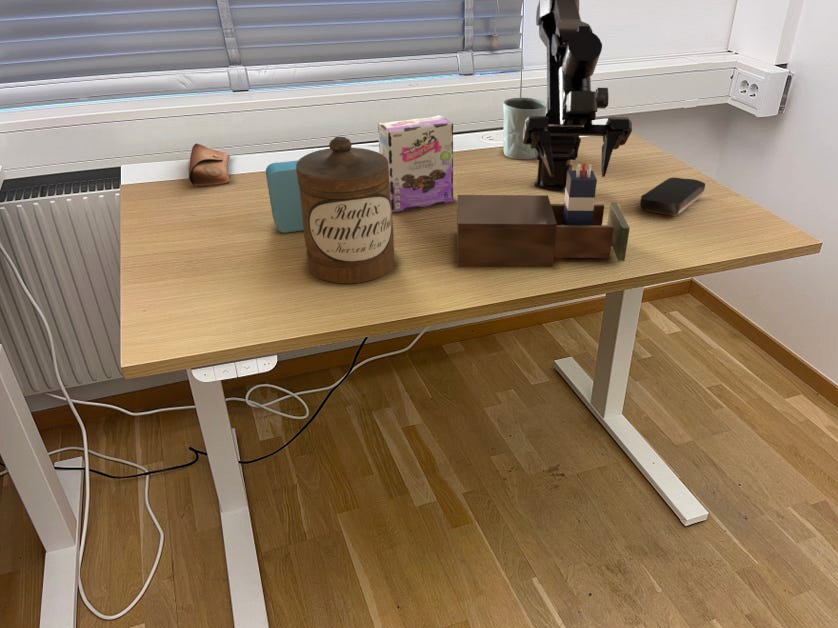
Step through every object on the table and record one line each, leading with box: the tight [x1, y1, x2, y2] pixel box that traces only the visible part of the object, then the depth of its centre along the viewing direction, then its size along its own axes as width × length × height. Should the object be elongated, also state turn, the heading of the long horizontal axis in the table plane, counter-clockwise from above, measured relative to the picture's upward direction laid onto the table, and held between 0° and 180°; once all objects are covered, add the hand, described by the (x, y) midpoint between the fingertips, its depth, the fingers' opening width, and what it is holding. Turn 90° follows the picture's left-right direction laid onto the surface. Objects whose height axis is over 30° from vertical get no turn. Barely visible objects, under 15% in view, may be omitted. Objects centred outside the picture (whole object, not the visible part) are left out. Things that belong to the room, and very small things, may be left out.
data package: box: [265, 160, 304, 234], centre depth 131 cm, size 12×4×12 cm, turn 112°
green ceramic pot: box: [502, 97, 547, 160], centre depth 167 cm, size 10×10×12 cm
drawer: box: [550, 201, 631, 262], centre depth 126 cm, size 17×11×6 cm
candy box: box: [377, 115, 454, 213], centre depth 140 cm, size 14×6×16 cm, turn 118°
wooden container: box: [296, 136, 395, 284], centre depth 116 cm, size 15×15×22 cm
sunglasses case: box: [188, 143, 231, 187], centre depth 156 cm, size 18×7×7 cm
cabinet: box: [456, 194, 557, 268], centre depth 125 cm, size 17×13×8 cm
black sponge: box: [639, 177, 706, 217], centre depth 145 cm, size 16×8×4 cm, turn 143°
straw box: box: [562, 162, 598, 225], centre depth 123 cm, size 4×4×15 cm
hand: (577, 175), depth 124 cm, fingers open, 9 cm apart
